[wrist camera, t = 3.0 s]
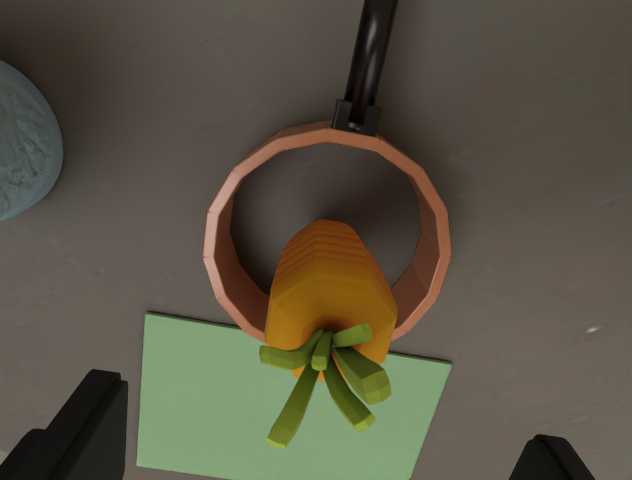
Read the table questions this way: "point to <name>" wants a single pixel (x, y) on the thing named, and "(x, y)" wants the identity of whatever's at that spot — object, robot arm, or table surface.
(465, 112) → the table surface
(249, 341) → the napkin
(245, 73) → the table surface
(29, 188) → the drinking glass
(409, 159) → the pan
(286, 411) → the carrot
